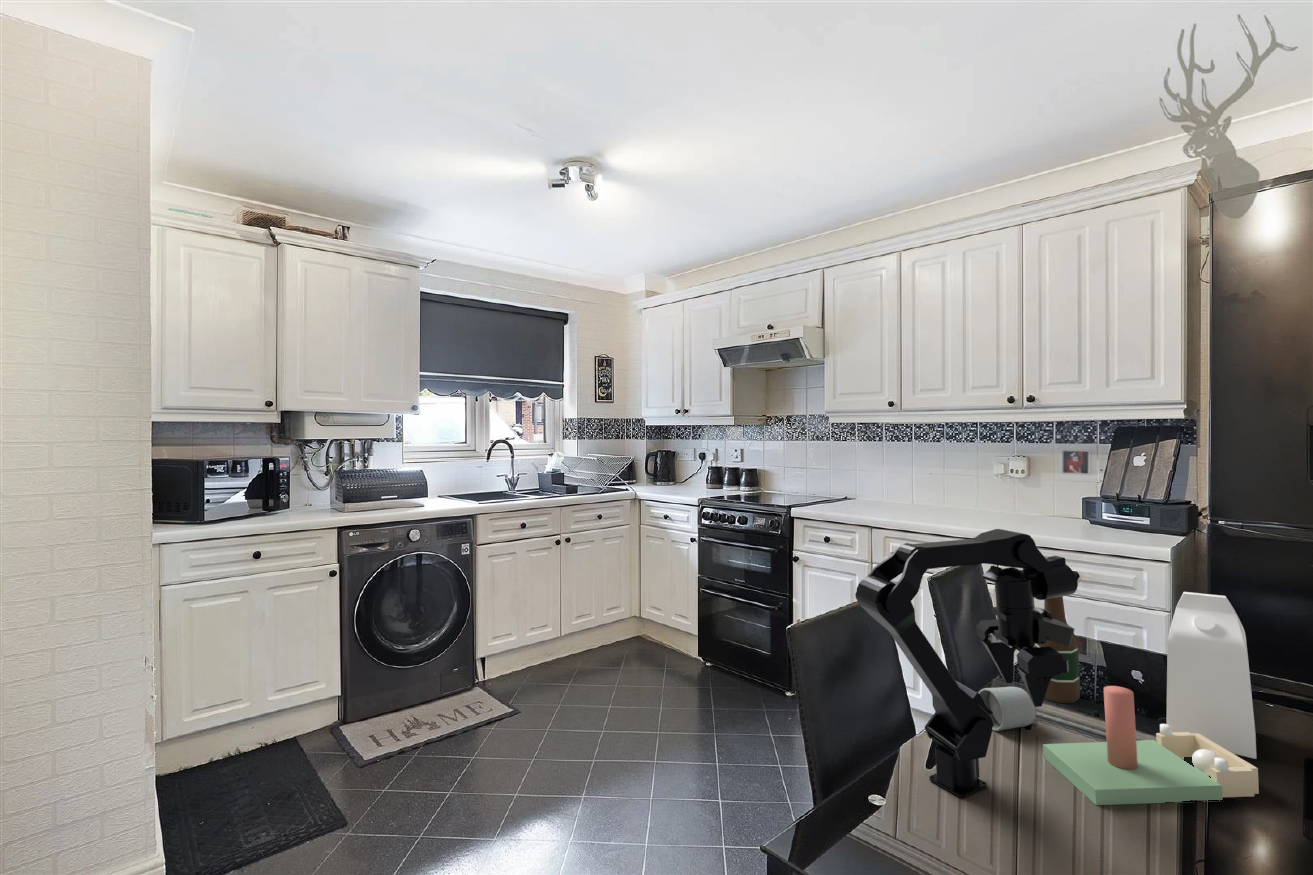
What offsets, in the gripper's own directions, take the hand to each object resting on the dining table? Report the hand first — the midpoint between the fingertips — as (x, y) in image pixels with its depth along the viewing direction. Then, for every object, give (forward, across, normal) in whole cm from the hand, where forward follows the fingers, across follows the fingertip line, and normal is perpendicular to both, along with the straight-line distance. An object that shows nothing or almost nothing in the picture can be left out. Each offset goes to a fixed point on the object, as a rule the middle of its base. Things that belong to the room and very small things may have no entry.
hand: (1022, 693), depth 108 cm
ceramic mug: (+14, +17, -3) cm, 22 cm away
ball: (+12, -3, -27) cm, 30 cm away
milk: (+15, +9, -37) cm, 41 cm away
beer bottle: (+15, +28, -21) cm, 37 cm away
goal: (+14, -3, -26) cm, 30 cm away
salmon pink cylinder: (+11, -3, -13) cm, 18 cm away
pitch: (+14, -3, -14) cm, 20 cm away
